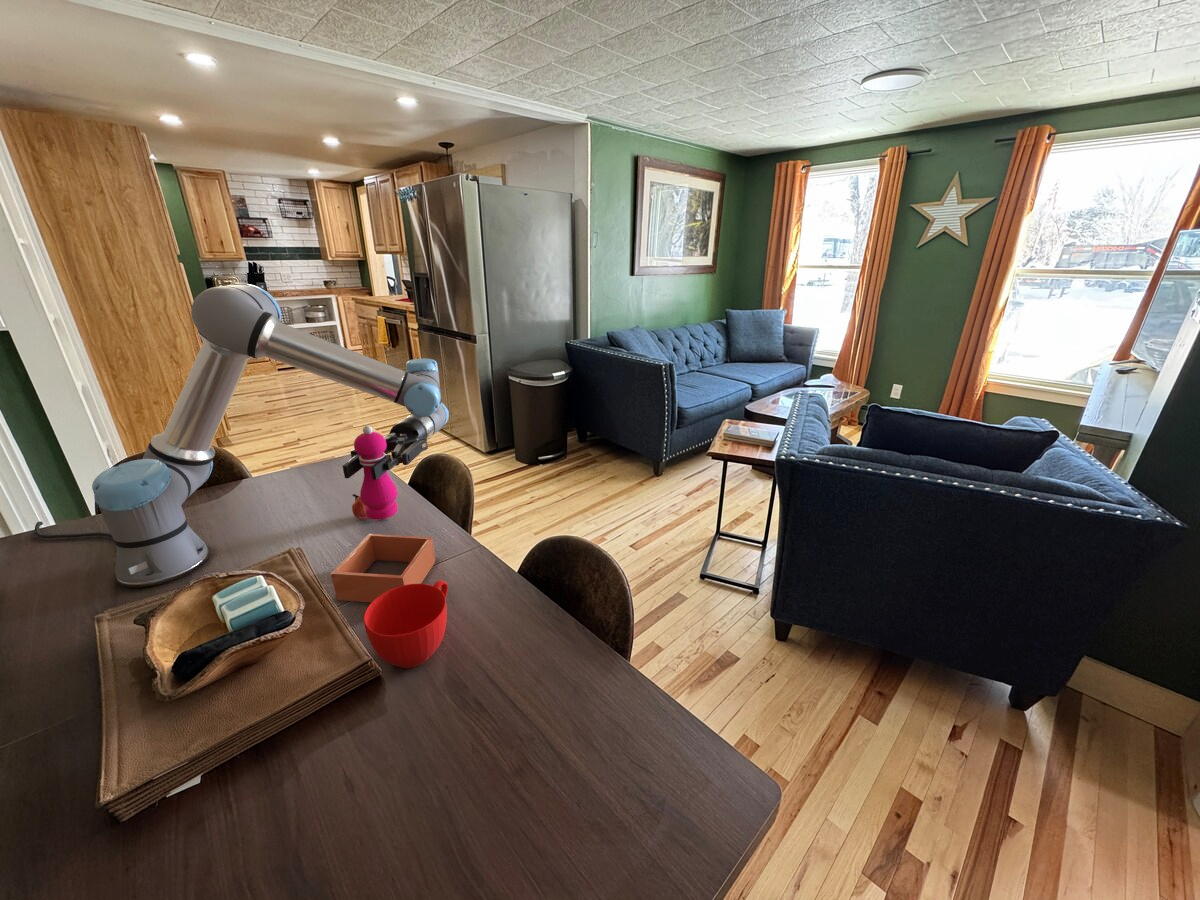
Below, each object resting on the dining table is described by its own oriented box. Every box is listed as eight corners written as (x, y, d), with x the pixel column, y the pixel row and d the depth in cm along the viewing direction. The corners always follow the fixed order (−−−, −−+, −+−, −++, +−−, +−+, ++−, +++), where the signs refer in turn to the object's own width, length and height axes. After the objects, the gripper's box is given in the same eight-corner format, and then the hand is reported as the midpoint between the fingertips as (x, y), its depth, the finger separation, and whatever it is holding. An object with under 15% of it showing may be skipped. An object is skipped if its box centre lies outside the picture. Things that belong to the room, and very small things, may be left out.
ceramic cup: (477, 622, 91) (473, 579, 87) (419, 693, 76) (411, 645, 72) (421, 606, 94) (415, 564, 91) (355, 670, 79) (344, 624, 76)
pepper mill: (387, 523, 98) (371, 433, 91) (356, 518, 100) (338, 430, 92) (406, 506, 105) (393, 421, 97) (377, 502, 106) (362, 418, 99)
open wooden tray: (337, 600, 95) (330, 573, 93) (373, 557, 109) (369, 533, 106) (407, 604, 95) (402, 578, 92) (435, 561, 108) (432, 537, 106)
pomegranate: (390, 518, 129) (364, 493, 130) (396, 505, 124) (370, 479, 125) (367, 534, 123) (340, 507, 124) (373, 520, 119) (345, 492, 119)
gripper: (373, 416, 114) (311, 453, 92) (446, 419, 112) (401, 457, 91) (378, 444, 116) (319, 487, 95) (449, 448, 115) (406, 492, 94)
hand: (359, 472), depth 93 cm, fingers closed on pepper mill, 5 cm apart
